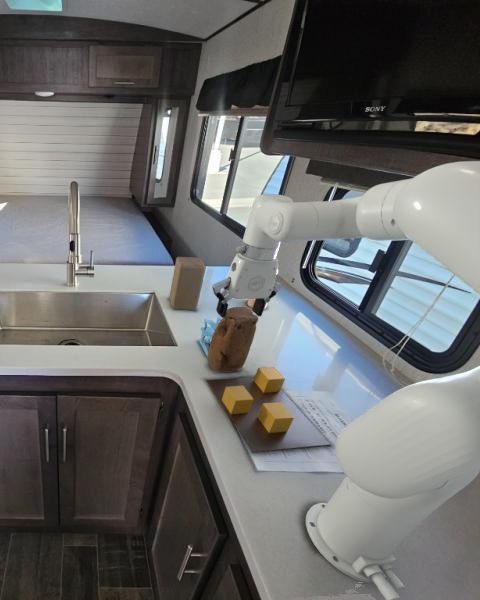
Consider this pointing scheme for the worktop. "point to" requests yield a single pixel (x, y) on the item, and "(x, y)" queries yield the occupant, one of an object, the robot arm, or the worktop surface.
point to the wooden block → (187, 283)
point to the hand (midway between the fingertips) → (238, 314)
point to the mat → (254, 430)
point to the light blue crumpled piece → (208, 332)
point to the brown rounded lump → (232, 340)
